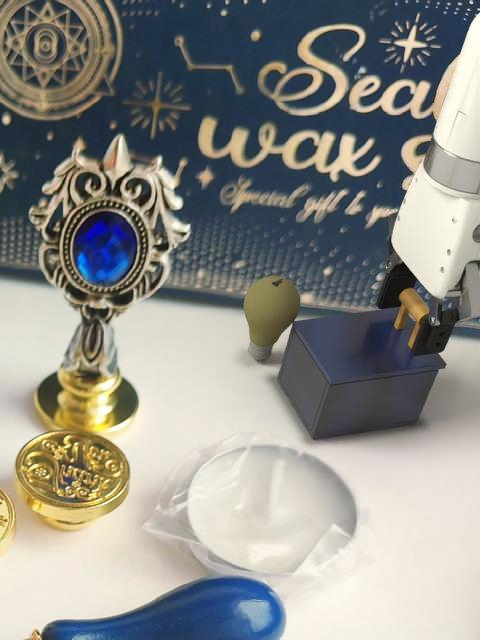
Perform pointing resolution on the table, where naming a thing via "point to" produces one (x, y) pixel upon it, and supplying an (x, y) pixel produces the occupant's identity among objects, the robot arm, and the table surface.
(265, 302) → the light bulb
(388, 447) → the table surface
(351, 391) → the box
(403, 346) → the lid
